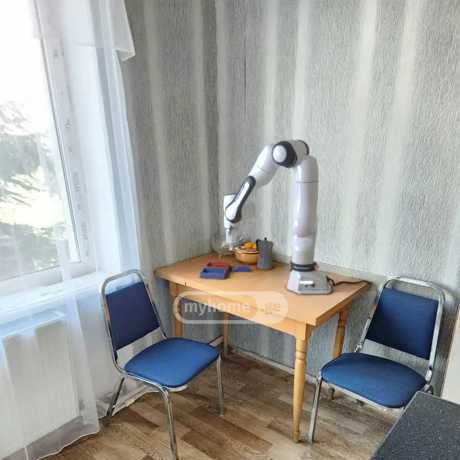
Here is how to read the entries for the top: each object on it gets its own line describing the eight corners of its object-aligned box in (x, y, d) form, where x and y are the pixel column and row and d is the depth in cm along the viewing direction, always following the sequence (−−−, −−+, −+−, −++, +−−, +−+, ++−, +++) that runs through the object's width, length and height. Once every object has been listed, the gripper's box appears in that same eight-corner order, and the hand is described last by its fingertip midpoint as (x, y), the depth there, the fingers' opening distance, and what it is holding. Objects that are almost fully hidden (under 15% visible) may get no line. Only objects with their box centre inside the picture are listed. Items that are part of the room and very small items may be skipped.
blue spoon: (250, 270, 228) (250, 265, 227) (249, 272, 225) (249, 267, 224) (232, 269, 230) (232, 264, 229) (231, 271, 227) (231, 266, 225)
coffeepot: (278, 268, 230) (279, 238, 223) (265, 271, 225) (266, 241, 218) (261, 262, 242) (262, 233, 234) (249, 264, 237) (249, 235, 229)
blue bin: (226, 273, 223) (226, 268, 222) (223, 279, 215) (223, 274, 214) (204, 272, 225) (204, 267, 224) (200, 277, 217) (200, 272, 216)
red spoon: (228, 268, 230) (228, 263, 229) (226, 270, 227) (226, 265, 226) (210, 267, 232) (210, 262, 231) (209, 269, 229) (208, 264, 228)
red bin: (230, 267, 233) (230, 262, 232) (227, 272, 225) (227, 267, 224) (208, 266, 235) (208, 261, 234) (204, 271, 227) (204, 266, 226)
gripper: (234, 227, 207) (235, 253, 213) (240, 219, 225) (240, 243, 231) (222, 227, 208) (223, 252, 214) (229, 219, 226) (229, 243, 232)
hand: (232, 247), depth 223 cm, fingers open, 8 cm apart
